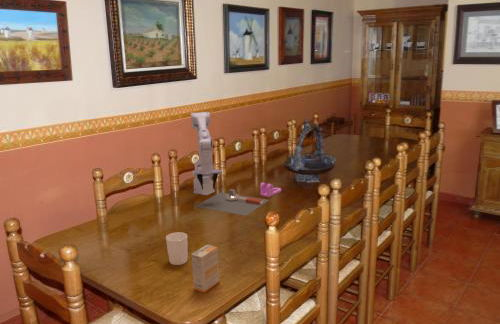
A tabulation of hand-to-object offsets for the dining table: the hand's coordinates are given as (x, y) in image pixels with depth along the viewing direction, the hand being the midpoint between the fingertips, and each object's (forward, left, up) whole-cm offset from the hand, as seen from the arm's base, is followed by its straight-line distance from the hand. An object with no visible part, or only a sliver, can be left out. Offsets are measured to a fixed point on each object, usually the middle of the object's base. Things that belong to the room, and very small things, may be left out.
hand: (208, 188), depth 225 cm
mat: (+10, +6, -9) cm, 15 cm away
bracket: (+21, +29, -9) cm, 37 cm away
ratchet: (+14, +11, -8) cm, 20 cm away
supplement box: (+45, -66, -9) cm, 80 cm away
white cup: (+25, -56, -9) cm, 61 cm away
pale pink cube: (0, 0, -2) cm, 2 cm away
